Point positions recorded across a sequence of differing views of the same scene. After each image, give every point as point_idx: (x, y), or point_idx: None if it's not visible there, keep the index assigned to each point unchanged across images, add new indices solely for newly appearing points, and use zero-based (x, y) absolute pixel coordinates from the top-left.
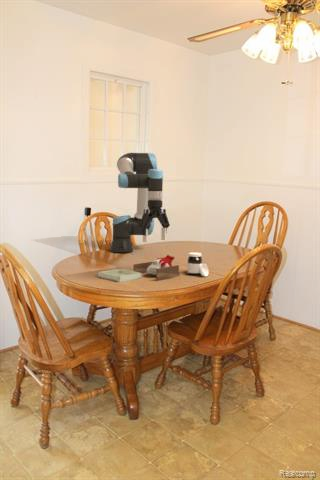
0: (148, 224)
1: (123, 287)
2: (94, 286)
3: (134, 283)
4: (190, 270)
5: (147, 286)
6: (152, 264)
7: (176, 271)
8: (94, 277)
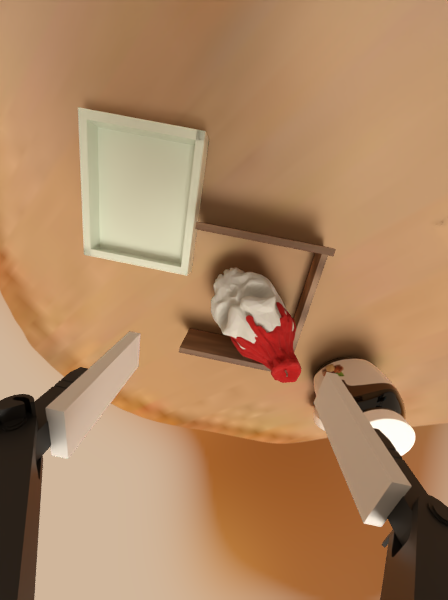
0: (33, 534)
1: (63, 304)
2: (5, 230)
3: (118, 299)
4: (314, 387)
5: None
6: (226, 303)
7: None
8: None
